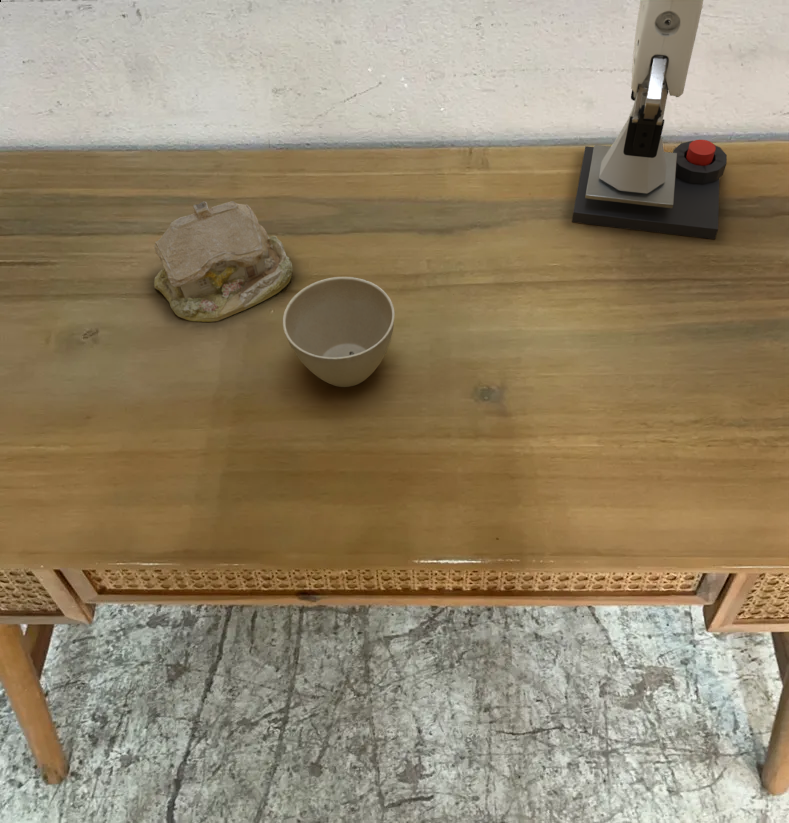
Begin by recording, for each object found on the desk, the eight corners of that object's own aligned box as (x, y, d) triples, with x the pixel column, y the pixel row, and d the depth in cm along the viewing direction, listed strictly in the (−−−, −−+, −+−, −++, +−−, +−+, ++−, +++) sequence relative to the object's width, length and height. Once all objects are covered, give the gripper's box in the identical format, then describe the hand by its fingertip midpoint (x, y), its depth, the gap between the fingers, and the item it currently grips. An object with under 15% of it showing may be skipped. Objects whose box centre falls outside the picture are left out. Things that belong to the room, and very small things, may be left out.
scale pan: (676, 156, 92) (677, 152, 92) (672, 208, 87) (673, 204, 86) (593, 148, 94) (594, 144, 93) (585, 198, 88) (585, 194, 88)
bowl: (281, 347, 82) (269, 294, 76) (377, 317, 83) (372, 264, 78) (311, 422, 76) (300, 371, 70) (413, 389, 78) (411, 337, 72)
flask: (676, 165, 90) (699, 80, 82) (651, 203, 87) (672, 118, 79) (614, 146, 93) (630, 62, 85) (587, 182, 89) (601, 97, 81)
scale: (720, 166, 95) (727, 143, 93) (718, 240, 88) (725, 217, 85) (584, 151, 98) (587, 129, 96) (571, 222, 91) (575, 200, 88)
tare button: (712, 152, 93) (716, 140, 91) (711, 168, 91) (715, 156, 90) (686, 150, 93) (689, 138, 92) (685, 165, 92) (688, 153, 90)
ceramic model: (170, 336, 83) (141, 261, 75) (148, 266, 90) (119, 190, 82) (303, 295, 86) (289, 218, 78) (272, 230, 92) (256, 153, 84)
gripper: (724, 4, 66) (676, 183, 80) (726, -90, 76) (683, 83, 90) (627, -3, 67) (597, 174, 81) (642, -94, 77) (612, 77, 91)
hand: (642, 126), depth 85 cm, fingers open, 9 cm apart
